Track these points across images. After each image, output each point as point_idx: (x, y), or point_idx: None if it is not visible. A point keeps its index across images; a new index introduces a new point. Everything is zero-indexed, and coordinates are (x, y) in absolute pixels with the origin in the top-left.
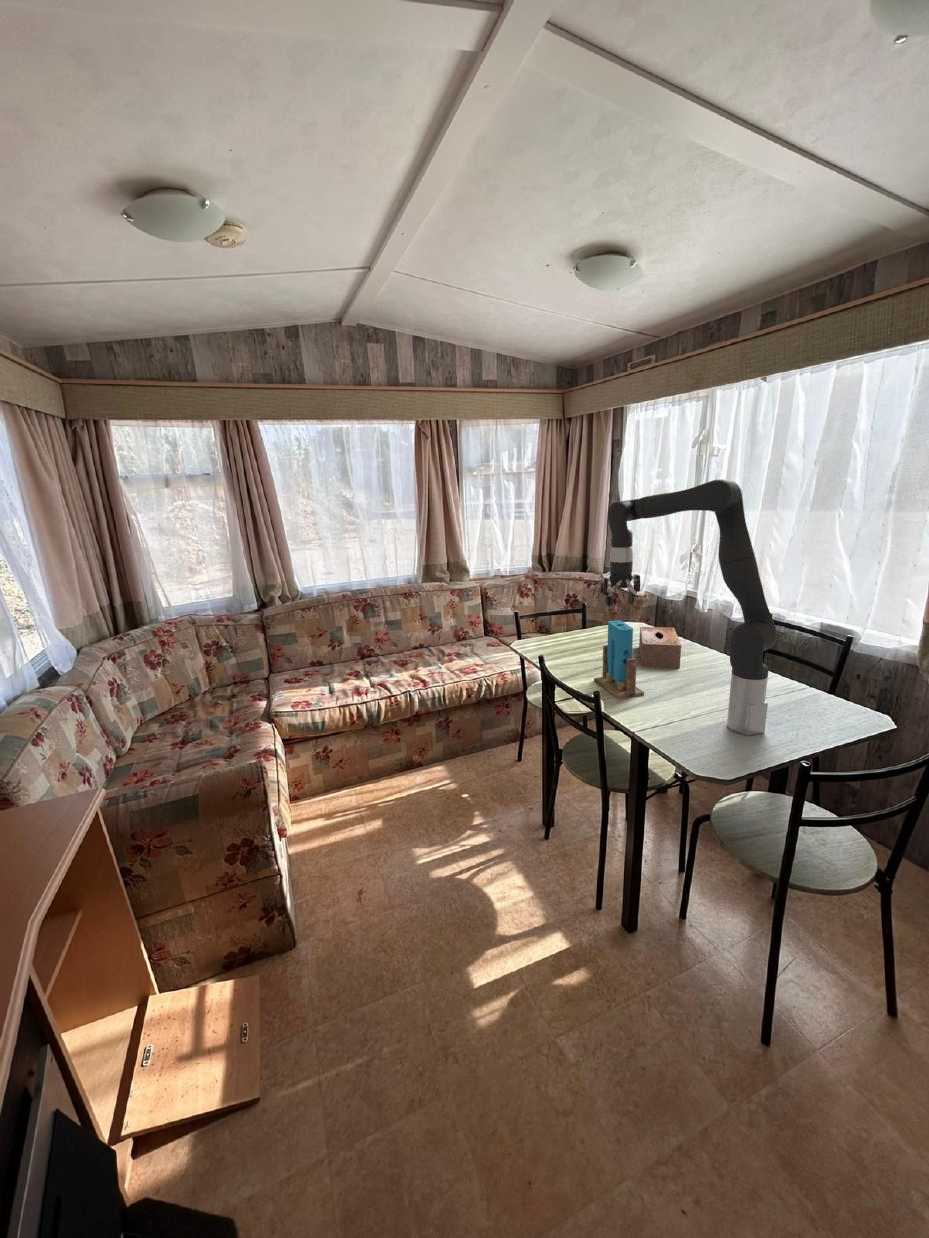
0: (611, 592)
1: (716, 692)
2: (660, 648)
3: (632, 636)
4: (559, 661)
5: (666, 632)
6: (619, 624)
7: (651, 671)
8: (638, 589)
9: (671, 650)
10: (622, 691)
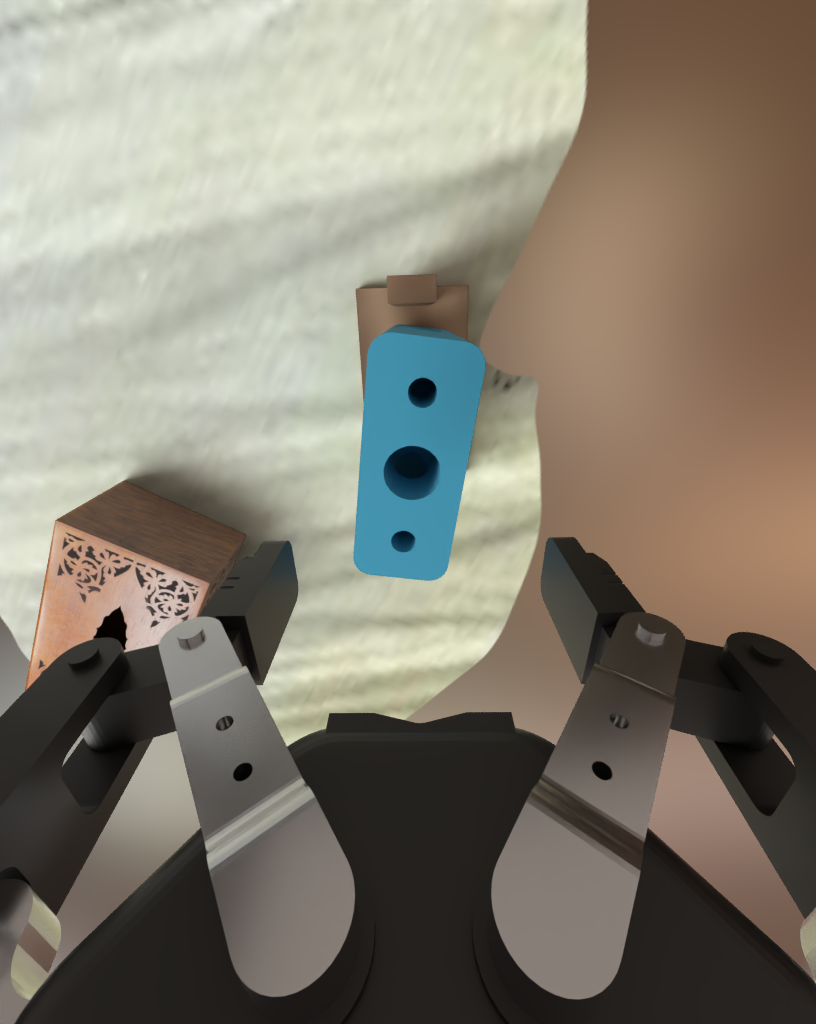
0: (641, 662)
1: (66, 212)
2: (150, 546)
3: (382, 333)
4: (478, 644)
5: None
6: (403, 497)
7: (232, 486)
8: (84, 670)
9: (111, 524)
10: (431, 323)
